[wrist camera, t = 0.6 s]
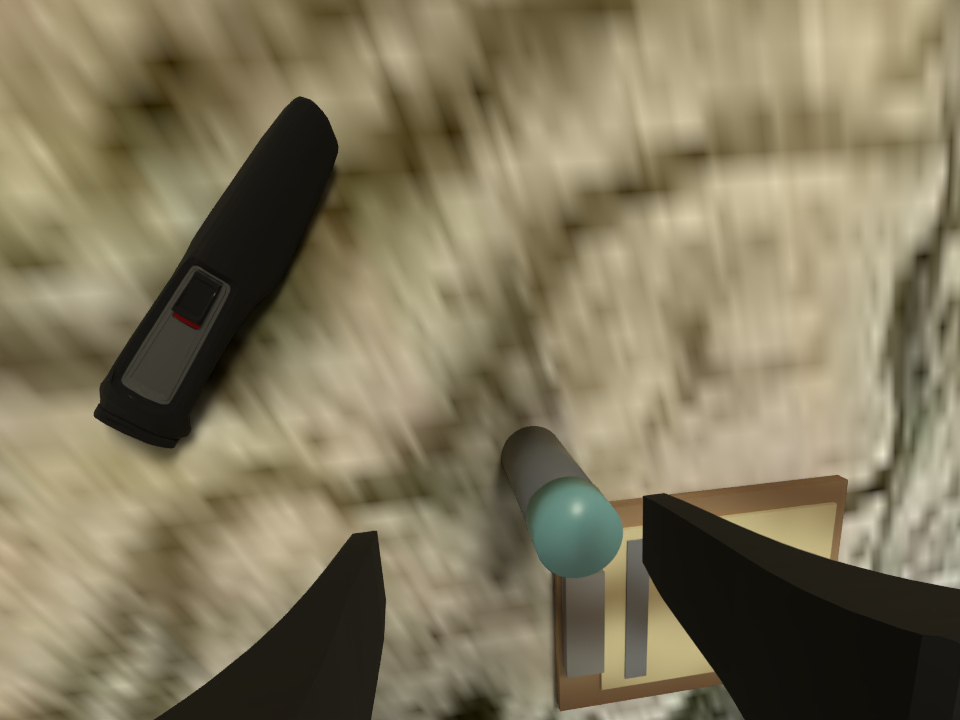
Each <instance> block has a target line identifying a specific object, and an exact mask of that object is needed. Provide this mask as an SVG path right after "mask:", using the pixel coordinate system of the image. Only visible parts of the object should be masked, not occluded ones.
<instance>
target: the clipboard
mask: <svg viewBox="0 0 960 720" xmlns="http://www.w3.org/2000/svg"><path fill="white" fill-rule="evenodd" d="M847 485H848V480H847V479H845V478H843V477H841V476H839V475H834V476H825V477H817V478H808V479H800V480H791V481H782V482H774V483H765V484H757V485H748V486H740V487H731V488H723V489H714V490H705V491H697V492H688V493H680V494H671V496H673V497H676V498H678V499H681V500H683V501H685V502H688V503H690V504H692V505H695V506H697V507H699V508H701V509H703V510H706V511H708V512H710V513H712V514H714V515H717V516H719V517H721V518H723V519H726V520H728V521H730V522H732V523H735V524H737V525H739V526H741V527H744V528H746V529H749V530H751V531H753V532H756V533H758V534H761V535H763V536H766V537H768V538H771V539H773V540H776V541H778V542H781V543H784V544H786V545H789V546H792V547H795V548H797V549H800V550H804V551H807V552H810V553H813V554H816V555H819V556H822V557H825V558H828V559H831V560H835V561H838V554H839V546H840V539H841V531H842V523H843V515H844V508H845V500H846V492H847ZM609 503H610V504H611V505H612V507H613V508H614V509H615V510H616V512H617V513H618V515H619V517H620V519H621V522H622V526H623V539H622V543H621V546H620V549H619V551H618V553H617V554H616V556H615V557H614V559H613V560H612V561H611V562H610V563H609V564H608V565H607V566H606V567H605V568H603V569H602V570H600V571H599V572H597V573H595V574H592V575H590V576H587V577H582V578H566V577H562V576H558V575H556V574H554V584H555V632H556V680H557V703H558V706H559V709H560V711H565V710H571V709H577V708H583V707H589V706H595V705H601V704H607V703H613V702H619V701H625V700H631V699H637V698H643V697H649V696H655V695H661V694H666V693H672V692H678V691H684V690H690V689H696V688H702V687H708V686H714V685H720V684H723V683H722V682H721V680H720V679H719V677H718V676H717V674H716V673H715V672H714V670H713V669H712V667H711V666H710V665H709V663H708V662H707V660H706V659H705V658H704V656H703V655H702V654H701V652H700V651H699V649H698V648H697V647H696V645H695V644H694V642H693V641H692V640H691V638H690V637H689V635H688V634H687V633H686V631H685V630H684V629H683V627H682V626H681V624H680V623H679V622H678V620H677V619H676V617H675V616H674V615H673V613H672V612H671V610H670V609H669V607H668V606H667V605H666V603H665V602H664V600H663V599H662V597H661V596H660V594H659V592H658V591H657V589H656V587H655V585H654V583H653V582H652V580H651V578H650V576H649V574H648V572H647V570H646V568H645V566H644V564H643V562H642V535H643V498H637V499H628V500H620V501H611V502H609Z"/></svg>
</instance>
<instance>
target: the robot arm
mask: <svg viewBox="0 0 960 720" xmlns="http://www.w3.org/2000/svg"><path fill="white" fill-rule="evenodd" d="M642 562H643V564H644V566H645V568H646V570H647V572H648V574H649V576H650V578H651V580H652V582H653V583H654V585H655V587H656V589H657V591H658V592H659V594H660V596H661V597H662V599H663V600H664V602H665V603H666V605H667V606H668V607H669V609H670V610H671V612H672V613H673V615H674V616H675V617H676V619H677V620H678V622H679V623H680V624H681V626H682V627H683V629H684V630H685V631H686V633H687V634H688V635H689V637H690V638H691V640H692V641H693V642H694V644H695V645H696V647H697V648H698V649H699V651H700V652H701V654H702V655H703V656H704V658H705V659H706V660H707V662H708V663H709V665H710V666H711V667H712V669H713V670H714V672H715V673H716V674H717V676H718V677H719V679H720V680H721V682H722V683H723V685H724V686H725V688H726V689H727V691H728V692H729V694H730V696H731V697H732V699H733V701H734V702H735V704H736V706H737V707H738V709H739V711H740V712H741V714H742V716H743V717H744V719H745V720H960V589H955V588H949V587H944V586H939V585H934V584H929V583H924V582H919V581H914V580H909V579H905V578H900V577H896V576H891V575H887V574H883V573H879V572H875V571H871V570H867V569H864V568H860V567H856V566H852V565H848V564H845V563H841V562H838V561H835V560H831V559H828V558H825V557H822V556H819V555H816V554H813V553H810V552H807V551H804V550H800V549H797V548H795V547H792V546H789V545H786V544H784V543H781V542H778V541H776V540H773V539H771V538H768V537H766V536H763V535H761V534H758V533H756V532H753V531H751V530H749V529H746V528H744V527H741V526H739V525H737V524H735V523H732V522H730V521H728V520H726V519H723V518H721V517H719V516H717V515H714V514H712V513H710V512H708V511H706V510H703V509H701V508H699V507H697V506H695V505H692V504H690V503H688V502H685V501H683V500H681V499H678V498H676V497H673V496H671V495H668V494H665V493H662V494H654V495H646V496H643V535H642ZM385 608H386V597H385V589H384V581H383V573H382V566H381V558H380V550H379V542H378V535H377V531H370V532H362V533H355V534H352V535H351V537H350V538H349V539H348V540H347V542H346V543H345V544H344V545H343V547H342V548H341V549H340V551H339V552H338V553H337V555H336V556H335V557H334V559H333V560H332V561H331V562H330V564H329V565H328V566H327V568H326V569H325V570H324V571H323V573H322V574H321V575H320V576H319V577H318V579H317V580H316V581H315V582H314V584H313V585H312V586H311V587H310V588H309V590H308V591H307V592H306V593H305V594H304V595H303V596H302V597H301V599H300V600H299V601H298V602H297V603H296V604H295V605H294V606H293V607H292V608H291V610H290V611H289V612H288V613H287V614H286V615H285V616H284V617H283V618H282V619H281V620H280V621H279V622H278V623H277V624H276V625H275V626H274V627H273V628H272V629H271V630H270V631H268V632H267V633H266V634H265V635H264V636H263V637H262V638H261V639H260V640H259V641H258V642H257V643H255V644H254V645H253V646H252V647H251V648H250V649H249V650H247V651H246V652H245V653H244V654H242V655H241V656H240V657H239V658H237V659H236V660H235V661H234V662H233V663H231V664H230V665H229V666H228V667H226V668H225V669H224V670H223V671H221V672H220V673H219V674H218V675H216V676H215V677H214V678H213V679H211V680H210V681H209V682H207V683H206V684H205V685H203V686H202V687H201V688H199V689H198V690H196V691H195V692H194V693H192V694H191V695H190V696H188V697H187V698H185V699H184V700H183V701H181V702H180V703H178V704H177V705H175V706H174V707H172V708H171V709H169V710H168V711H166V712H165V713H163V714H162V715H160V716H159V717H157V718H156V719H154V720H371V716H372V710H373V704H374V698H375V692H376V686H377V680H378V674H379V667H380V661H381V655H382V649H383V642H384V629H385Z"/></svg>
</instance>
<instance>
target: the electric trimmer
mask: <svg viewBox="0 0 960 720" xmlns="http://www.w3.org/2000/svg"><path fill="white" fill-rule="evenodd" d="M337 154H338V143H337V139H336V137H335V134H334V132H333V130H332V127H331V125H330V122H329V120H328V118H327V117H326V115H325V114H324V112H323V111H322V110H321V109H320V108H319V107H318V106H317V105H316V104H315V103H314V102H313V101H311V100H310V99H307V98H304V97H300V96H299V97H297V98H295V99H294V100H293V101H292V102H291V103H290V104H288V105H287V106H286V107H285V108H284V110H283V111H282V112H281V113H280V115H279V116H278V117H277V119H276V120H275V121H274V122H273V124H272V125H271V126H270V128H269V129H268V130H267V132H266V133H265V134H264V135H263V137H262V138H261V139H260V141H259V142H258V144H257V145H256V147H255V148H254V150H253V151H252V153H251V154H250V155H249V157H248V158H247V160H246V161H245V163H244V164H243V166H242V167H241V169H240V170H239V171H238V173H237V174H236V176H235V177H234V179H233V180H232V182H231V183H230V185H229V186H228V187H227V189H226V190H225V192H224V193H223V195H222V196H221V198H220V199H219V201H218V202H217V203H216V205H215V206H214V208H213V209H212V211H211V212H210V214H209V215H208V217H207V218H206V220H205V221H204V223H203V224H202V226H201V227H200V229H199V230H198V232H197V233H196V235H195V237H194V238H193V240H192V241H191V243H190V246H189V248H188V250H187V252H186V254H185V255H184V257H183V259H182V260H181V262H180V264H179V265H178V267H177V269H176V270H175V272H174V274H173V275H172V277H171V278H170V280H169V281H168V283H167V284H166V286H165V287H164V289H163V290H162V292H161V293H160V295H159V296H158V298H157V299H156V301H155V302H154V304H153V305H152V307H151V308H150V310H149V311H148V313H147V314H146V316H145V317H144V318H143V320H142V321H141V323H140V324H139V326H138V327H137V329H136V330H135V332H134V333H133V335H132V336H131V338H130V339H129V341H128V342H127V344H126V346H125V347H124V349H123V350H122V352H121V354H120V355H119V357H118V358H117V360H116V361H115V363H114V365H113V366H112V368H111V370H110V371H109V373H108V375H107V376H106V378H105V379H104V380H103V382H102V383H101V385H100V404H98V406H97V408H96V409H95V411H94V417H95V418H96V419H98V420H100V421H101V422H103V423H104V424H106V425H108V426H110V427H112V428H114V429H116V430H118V431H120V432H122V433H124V434H126V435H129V436H131V437H133V438H136V439H138V440H140V441H143V442H145V443H147V444H151V445H155V446H159V447H164V448H174V447H175V445H176V444H177V442H178V440H179V439H180V438H183V437H186V436H188V435H189V433H190V432H191V426H190V417H189V415H190V412H191V410H192V408H193V406H194V404H195V402H196V400H197V398H198V396H199V395H200V393H201V391H202V389H203V387H204V385H205V383H206V381H207V379H208V378H209V376H210V374H211V372H212V371H213V369H214V367H215V365H216V364H217V362H218V360H219V358H220V357H221V355H222V353H223V352H224V350H225V348H226V347H227V345H228V343H229V342H230V340H231V338H232V337H233V336H234V334H235V333H236V331H237V330H238V328H239V327H240V325H241V324H242V323H243V321H244V320H245V318H246V317H247V315H248V314H249V312H250V311H251V310H252V309H253V308H254V307H255V306H256V305H257V304H258V303H259V302H260V301H261V300H262V299H263V298H265V297H266V296H267V295H269V294H270V293H271V292H273V291H274V290H275V289H276V288H277V286H278V285H279V283H280V281H281V279H282V277H283V276H284V274H285V272H286V270H287V268H288V266H289V264H290V261H291V259H292V257H293V255H294V252H295V250H296V248H297V246H298V244H299V241H300V239H301V237H302V235H303V233H304V230H305V228H306V226H307V224H308V222H309V219H310V217H311V215H312V213H313V211H314V208H315V206H316V204H317V202H318V199H319V197H320V195H321V193H322V191H323V188H324V186H325V184H326V182H327V180H328V177H329V175H330V173H331V171H332V169H333V166H334V163H335V160H336V157H337Z"/></svg>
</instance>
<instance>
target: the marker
mask: <svg viewBox="0 0 960 720" xmlns="http://www.w3.org/2000/svg"><path fill="white" fill-rule="evenodd" d="M502 463H503V466H504V469H505V471H506V474H507V476H508V479H509V481H510V484H511V486H512V489H513V491H514V494H515V496H516V499H517V501H518V504H519V506H520V508H521V511H522V513H523V516H524V518H525V521H526V525H527V529H528V532H529V534H530V537H531V539H532V542H533V544H534V547H535V549H536V552H537V554H538V557H539V559H540V561H541V562H542V564H543V565H544V566H545V567H546V568H547V569H548V570H549V571H551V572H552V573H554V574H556V575H558V576H562V577H566V578H582V577H587V576H590V575H592V574H595V573H597V572H599V571H600V570H602V569H603V568H605V567H606V566H607V565H608V564H609V563H610V562H611V561H612V560H613V559H614V557H615V556H616V554H617V553H618V551H619V549H620V546H621V543H622V539H623V526H622V522H621V519H620V517H619V515H618V513H617V512H616V510H615V509H614V508H613V507H612V505H611V504H610V503H609V502H608V500H607V499H606V498H605V496H604V495H603V494H602V493H601V491H600V490H599V489H598V488H597V487H596V486H595V485H594V484H593V483H592V482H591V481H590V479H589V478H588V477H587V476H586V474H585V473H584V472H583V471H582V469H581V468H580V467H579V465H578V464H577V463H576V462H575V460H574V459H573V458H572V456H571V455H570V454H569V453H568V451H567V450H566V449H565V447H564V446H563V445H562V444H561V442H560V441H559V440H558V438H557V437H556V436H555V435H554V434H553V433H552V432H551V431H549V430H548V429H546V428H543V427H539V426H529V427H525V428H522V429H520V430H518V431H516V432H515V433H513V434H512V435H511V436H510V437H509V438H508V440H507V441H506V443H505V445H504V447H503V450H502Z"/></svg>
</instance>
